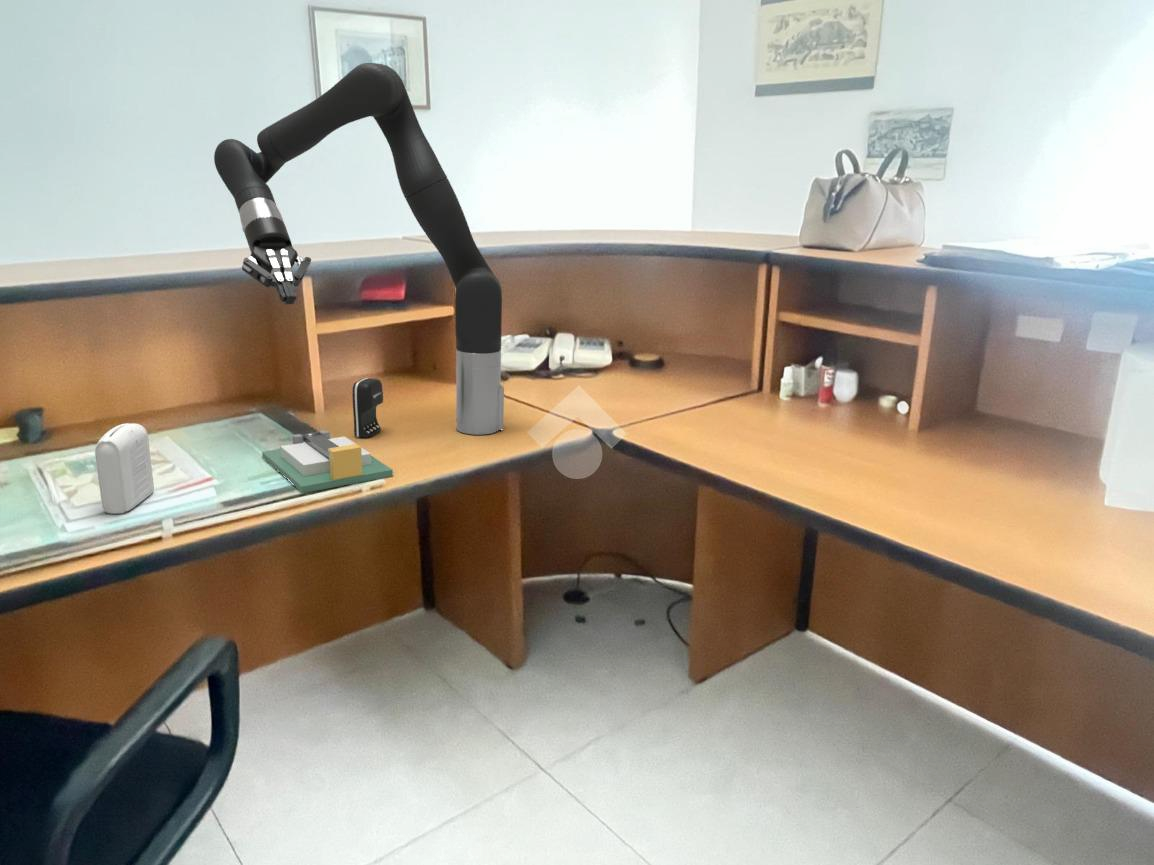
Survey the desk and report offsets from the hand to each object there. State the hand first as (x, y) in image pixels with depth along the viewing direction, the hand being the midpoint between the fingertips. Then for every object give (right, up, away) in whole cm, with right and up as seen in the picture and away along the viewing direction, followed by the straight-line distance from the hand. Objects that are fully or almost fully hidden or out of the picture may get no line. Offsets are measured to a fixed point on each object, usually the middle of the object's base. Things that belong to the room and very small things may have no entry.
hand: (290, 301), depth 146 cm
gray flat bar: (+8, -27, -3) cm, 28 cm away
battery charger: (+10, -25, +17) cm, 32 cm away
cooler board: (+7, -30, -2) cm, 31 cm away
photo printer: (-17, -35, -21) cm, 45 cm away
